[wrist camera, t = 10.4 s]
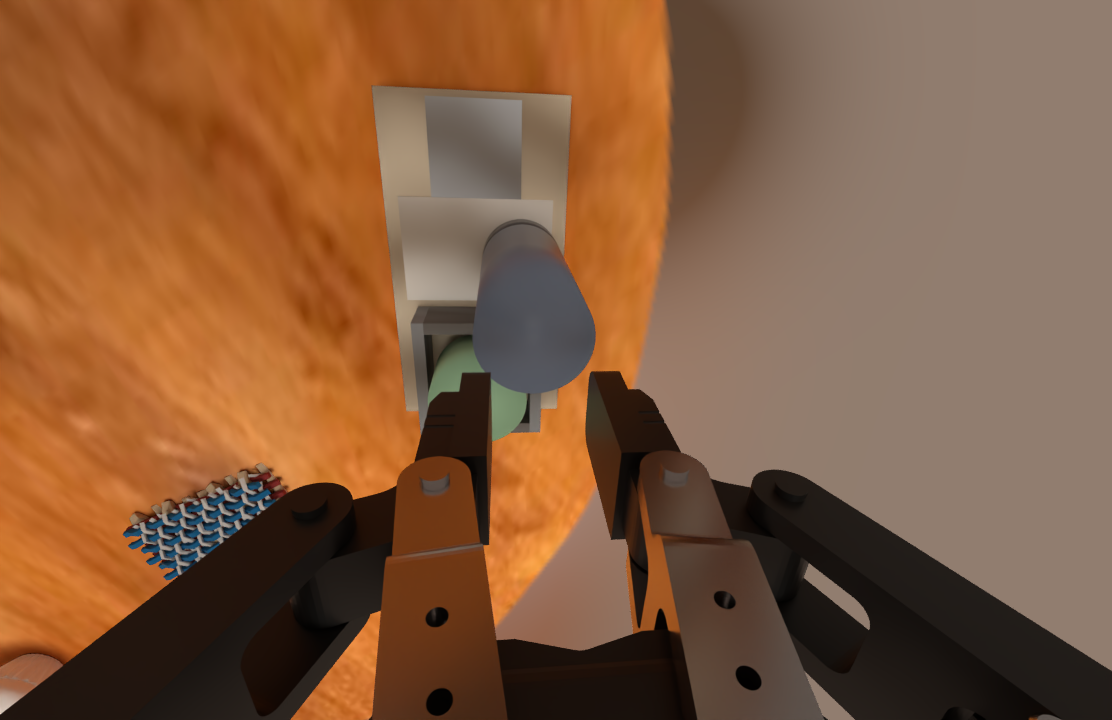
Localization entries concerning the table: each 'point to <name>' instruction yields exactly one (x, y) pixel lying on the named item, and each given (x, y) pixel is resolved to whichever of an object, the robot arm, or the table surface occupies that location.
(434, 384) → the button
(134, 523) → the woven mat
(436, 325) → the grey rectangular tray
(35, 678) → the white lidded jar
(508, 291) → the ball
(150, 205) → the table surface
